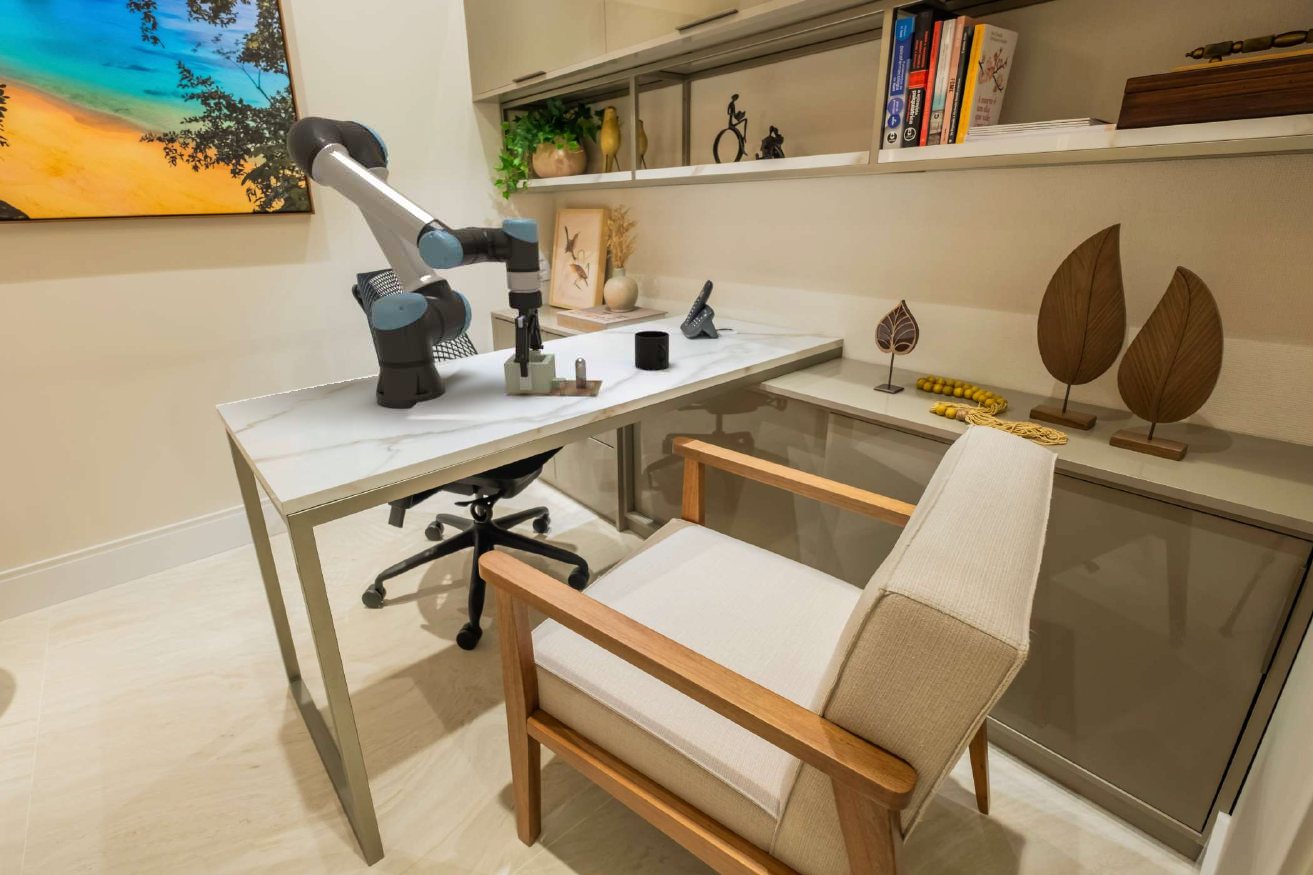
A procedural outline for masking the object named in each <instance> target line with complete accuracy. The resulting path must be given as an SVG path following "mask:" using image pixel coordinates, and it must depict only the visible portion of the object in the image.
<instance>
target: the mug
mask: <svg viewBox="0 0 1313 875" xmlns="http://www.w3.org/2000/svg"><path fill="white" fill-rule="evenodd" d="M634 366H635V368H637V369H638V370H642V371H643V370H644V371H661V370H665V369H667V368H668V367H670V334H669V333H668V332H666V331H661V330H643V331H638V332H636V333H635V334H634Z"/></svg>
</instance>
